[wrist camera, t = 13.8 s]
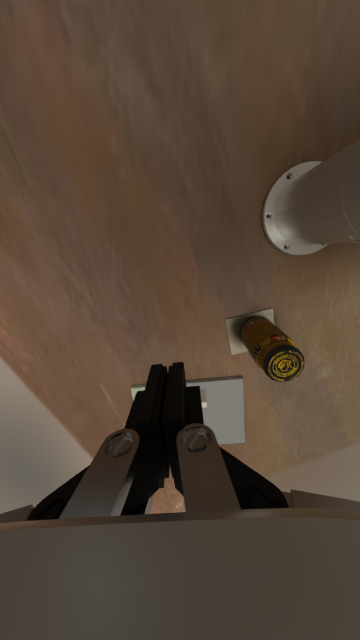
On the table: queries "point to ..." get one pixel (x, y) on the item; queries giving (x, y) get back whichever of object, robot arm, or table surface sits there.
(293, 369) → the condiment
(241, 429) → the channel board
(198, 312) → the table surface
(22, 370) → the table surface
